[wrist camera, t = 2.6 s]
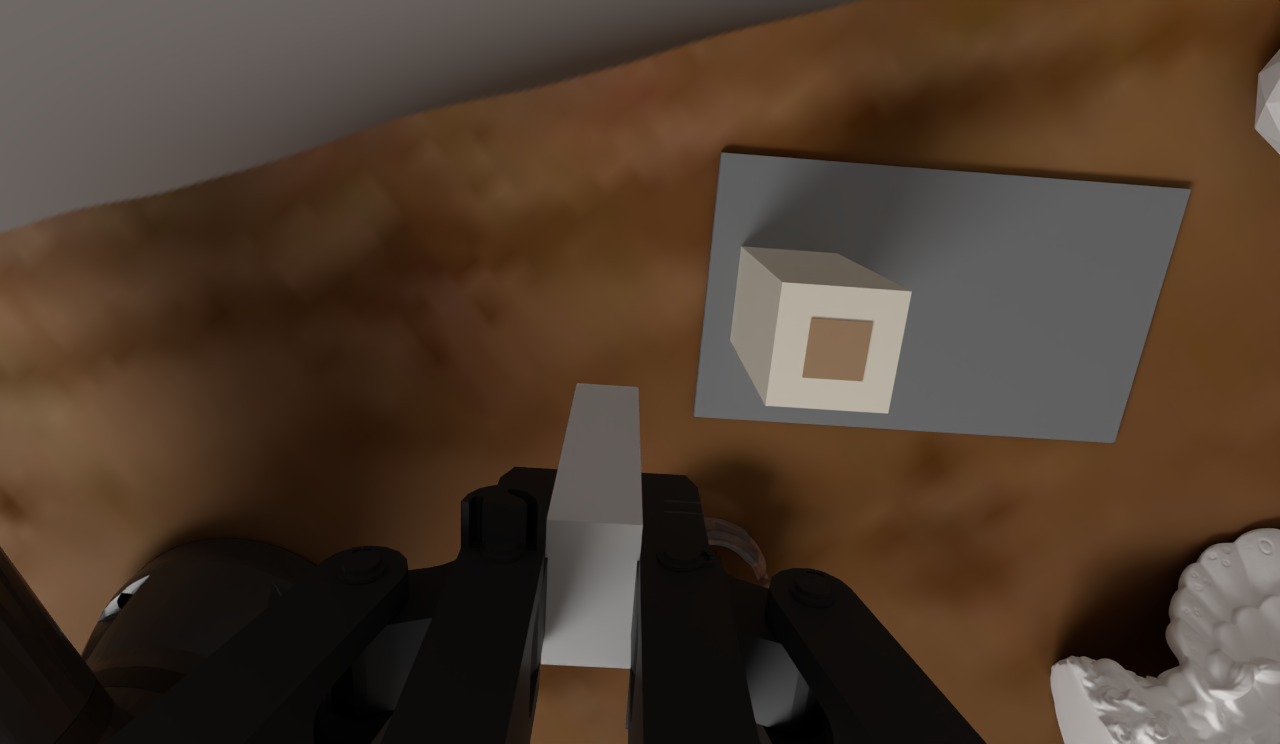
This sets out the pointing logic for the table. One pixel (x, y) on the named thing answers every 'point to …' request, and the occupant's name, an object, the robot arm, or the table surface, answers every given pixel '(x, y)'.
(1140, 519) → the table surface
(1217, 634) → the cherub figurine
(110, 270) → the table surface
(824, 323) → the cream block
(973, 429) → the grey mat
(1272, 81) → the geometric ball
